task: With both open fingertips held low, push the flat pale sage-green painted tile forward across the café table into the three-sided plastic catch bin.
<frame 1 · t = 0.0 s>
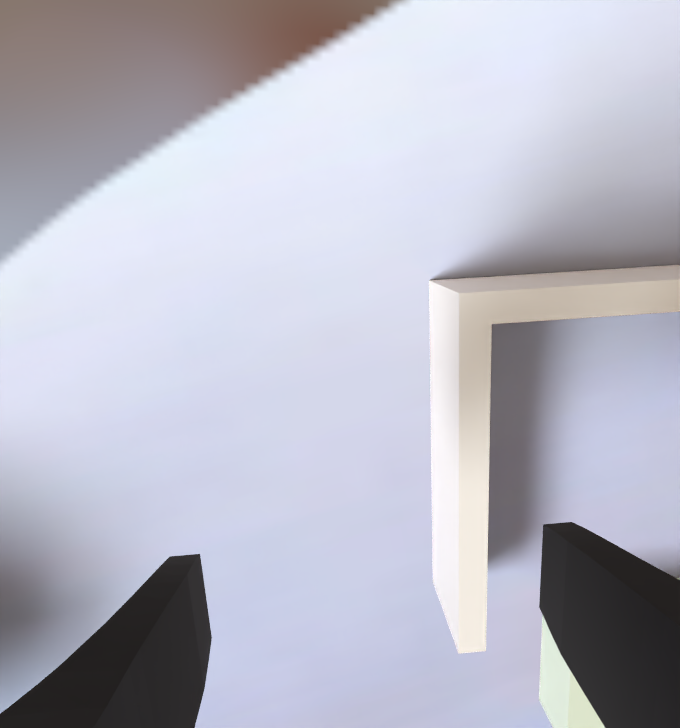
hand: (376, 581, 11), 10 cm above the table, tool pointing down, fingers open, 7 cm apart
catch bin: (659, 424, 22), on the table
green tile: (631, 631, 25), on the table
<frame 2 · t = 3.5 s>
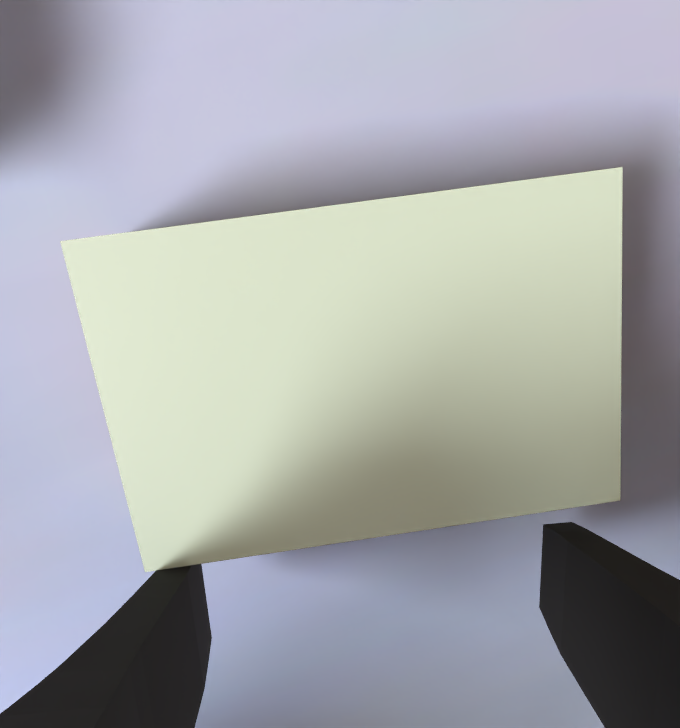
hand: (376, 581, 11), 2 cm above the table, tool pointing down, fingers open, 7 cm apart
green tile: (352, 346, 12), on the table, touching gripper
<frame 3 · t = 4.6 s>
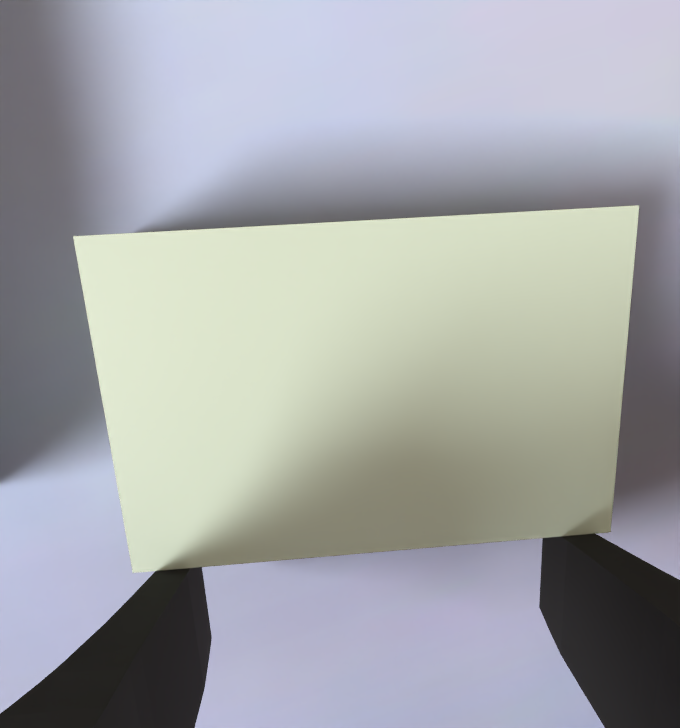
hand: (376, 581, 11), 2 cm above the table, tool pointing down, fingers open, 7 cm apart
green tile: (354, 358, 12), on the table, touching gripper
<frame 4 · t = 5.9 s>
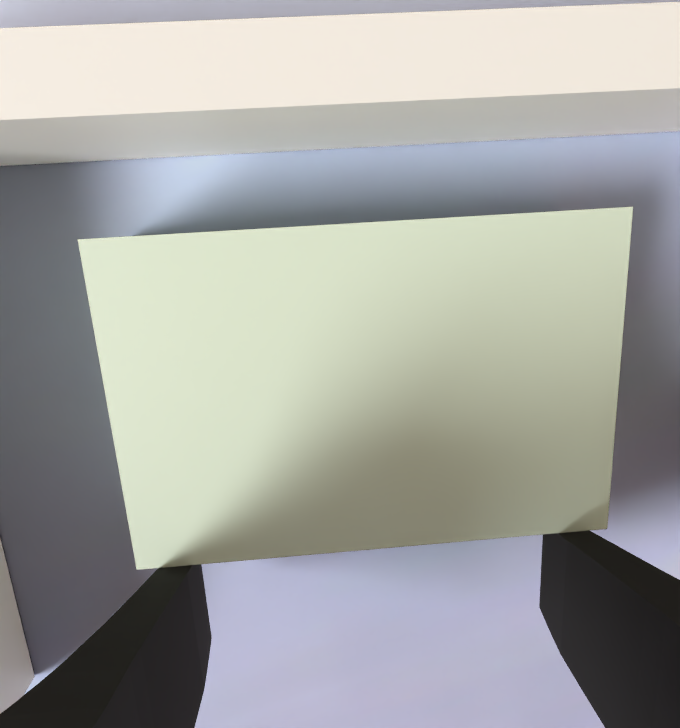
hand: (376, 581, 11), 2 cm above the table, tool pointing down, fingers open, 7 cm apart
catch bin: (359, 406, 12), on the table
green tile: (354, 358, 12), on the table
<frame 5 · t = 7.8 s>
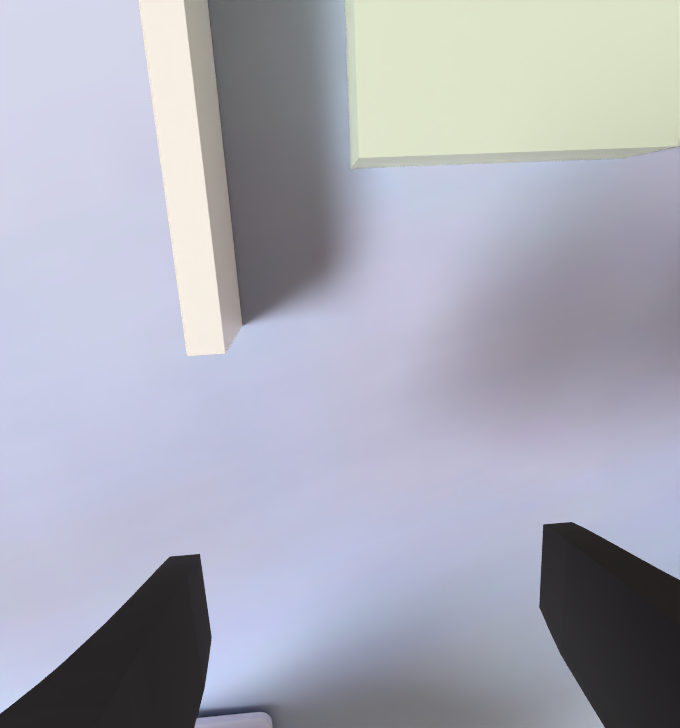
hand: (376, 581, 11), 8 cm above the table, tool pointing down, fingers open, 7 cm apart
catch bin: (492, 104, 17), on the table
green tile: (488, 63, 17), on the table
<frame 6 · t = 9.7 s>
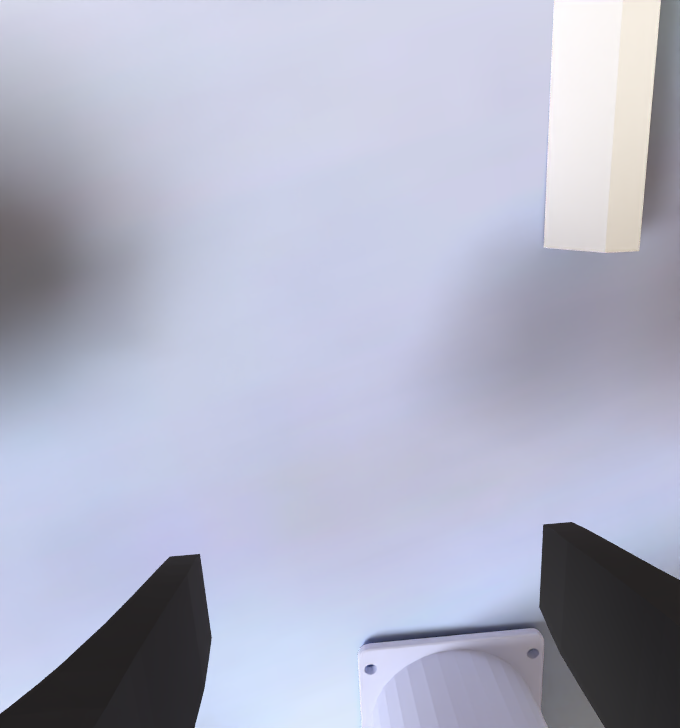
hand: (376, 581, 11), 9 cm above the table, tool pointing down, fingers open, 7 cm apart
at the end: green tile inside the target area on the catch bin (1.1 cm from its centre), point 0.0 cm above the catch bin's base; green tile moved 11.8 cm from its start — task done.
